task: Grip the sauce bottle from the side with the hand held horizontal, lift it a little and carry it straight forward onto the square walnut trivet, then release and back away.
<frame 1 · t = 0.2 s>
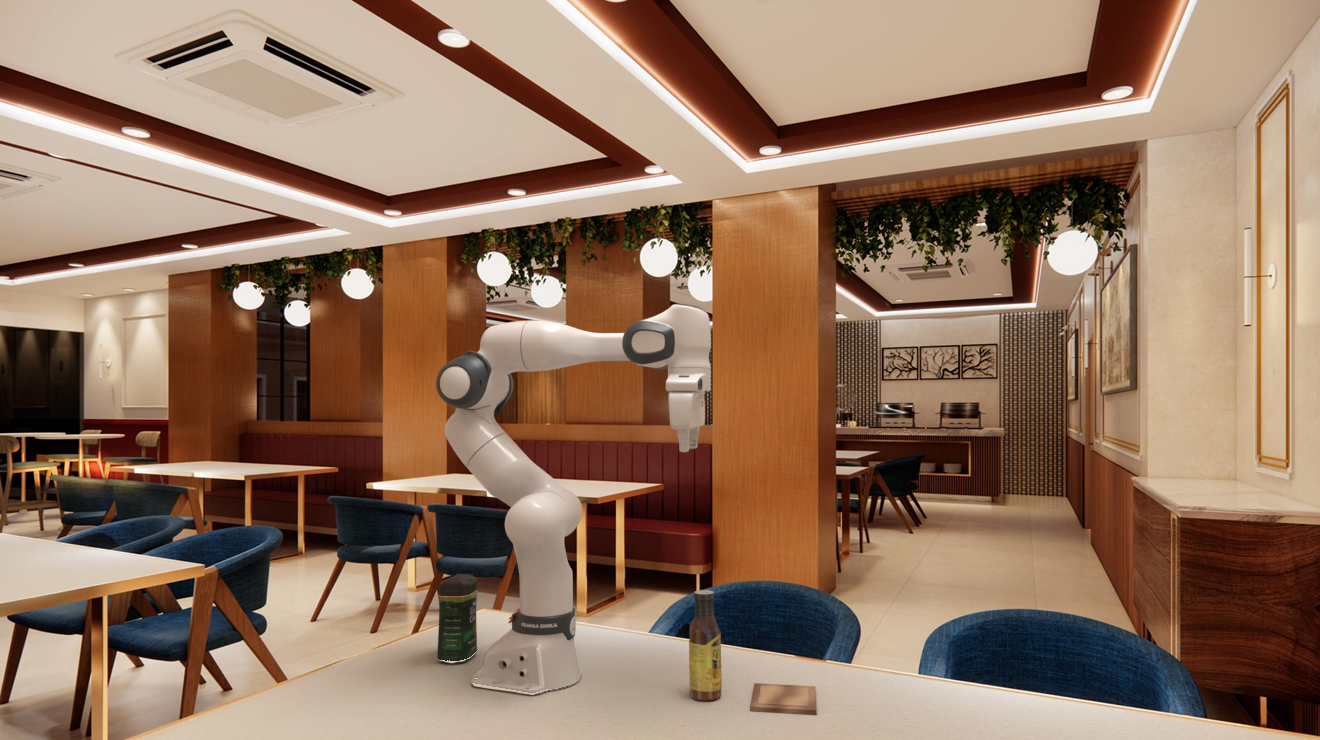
hand: (688, 450, 150), 47 cm above the table, tool pointing down, fingers open, 8 cm apart
coffee jar: (458, 659, 167), on the table
sauce bottle: (705, 697, 142), on the table
trivet: (783, 700, 139), on the table
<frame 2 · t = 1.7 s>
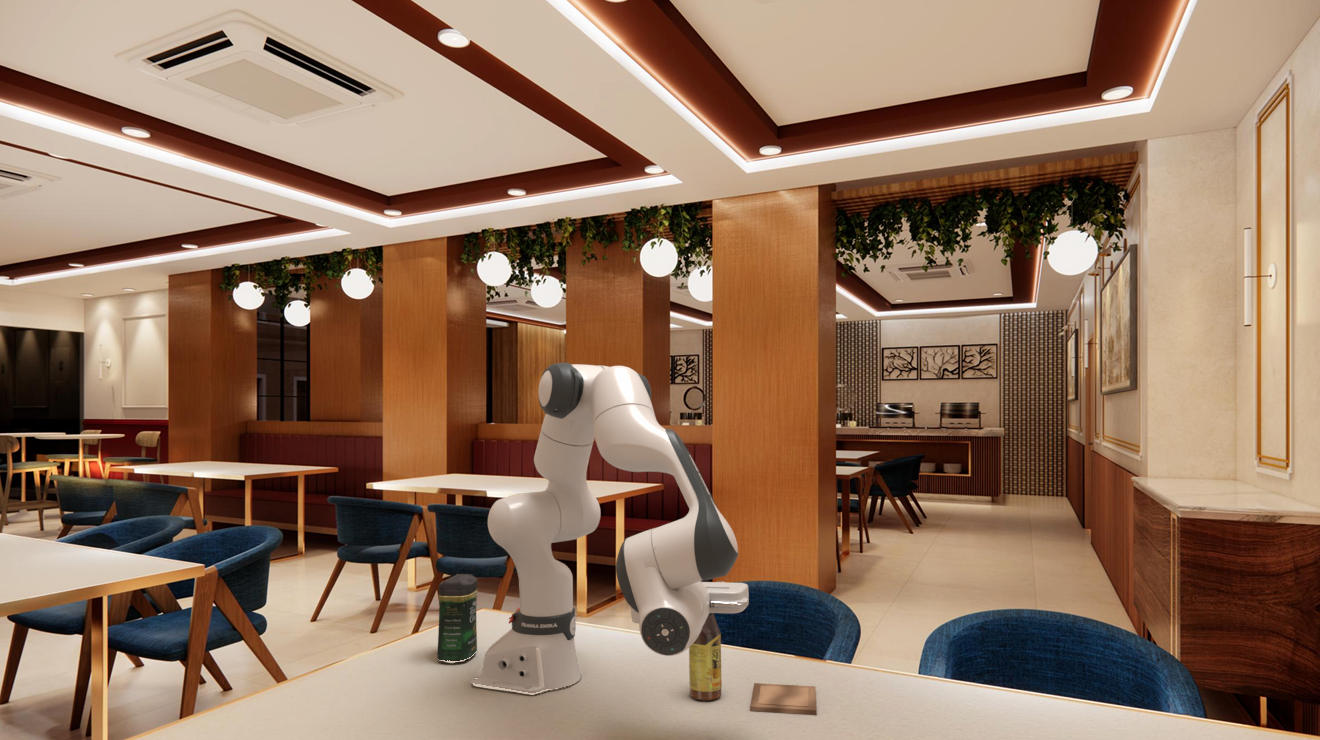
hand: (694, 585, 132), 24 cm above the table, tool horizontal, fingers open, 8 cm apart
nothing on the table moved.
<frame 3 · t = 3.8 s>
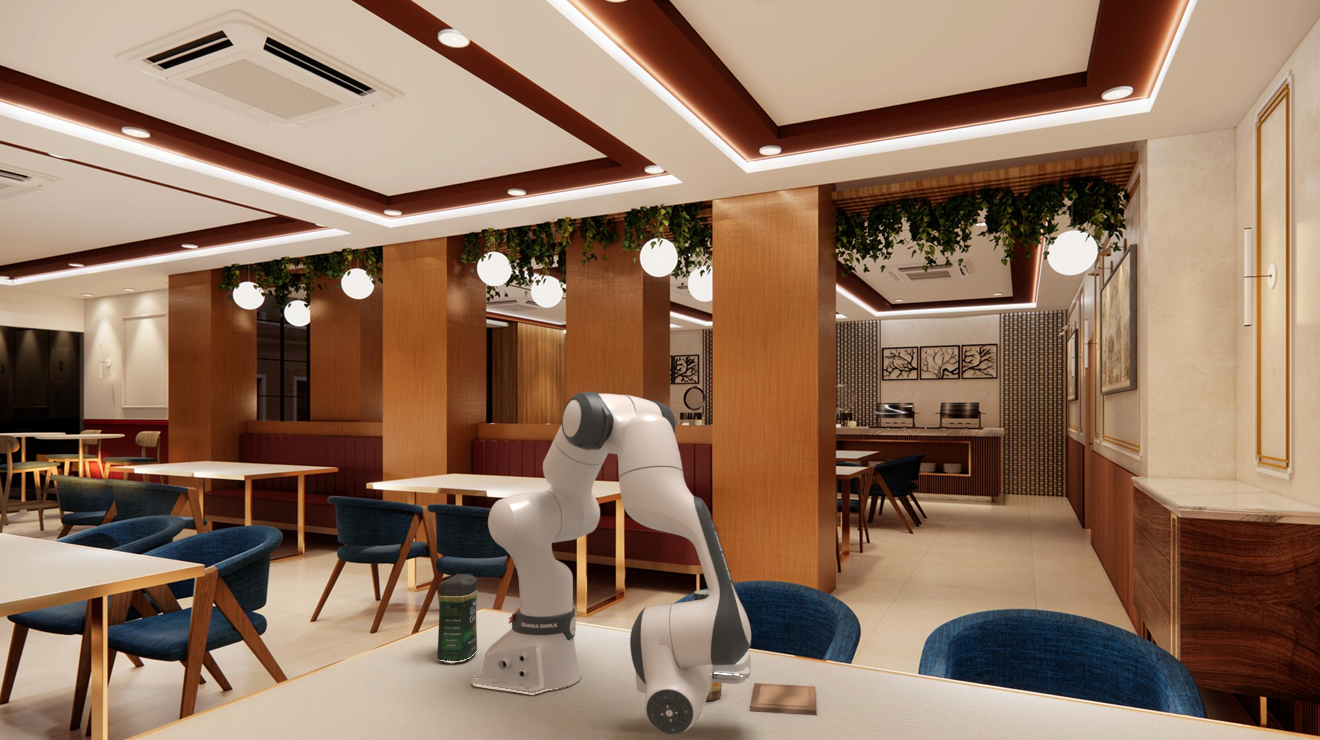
hand: (698, 648, 135), 11 cm above the table, tool horizontal, fingers open, 8 cm apart
nothing on the table moved.
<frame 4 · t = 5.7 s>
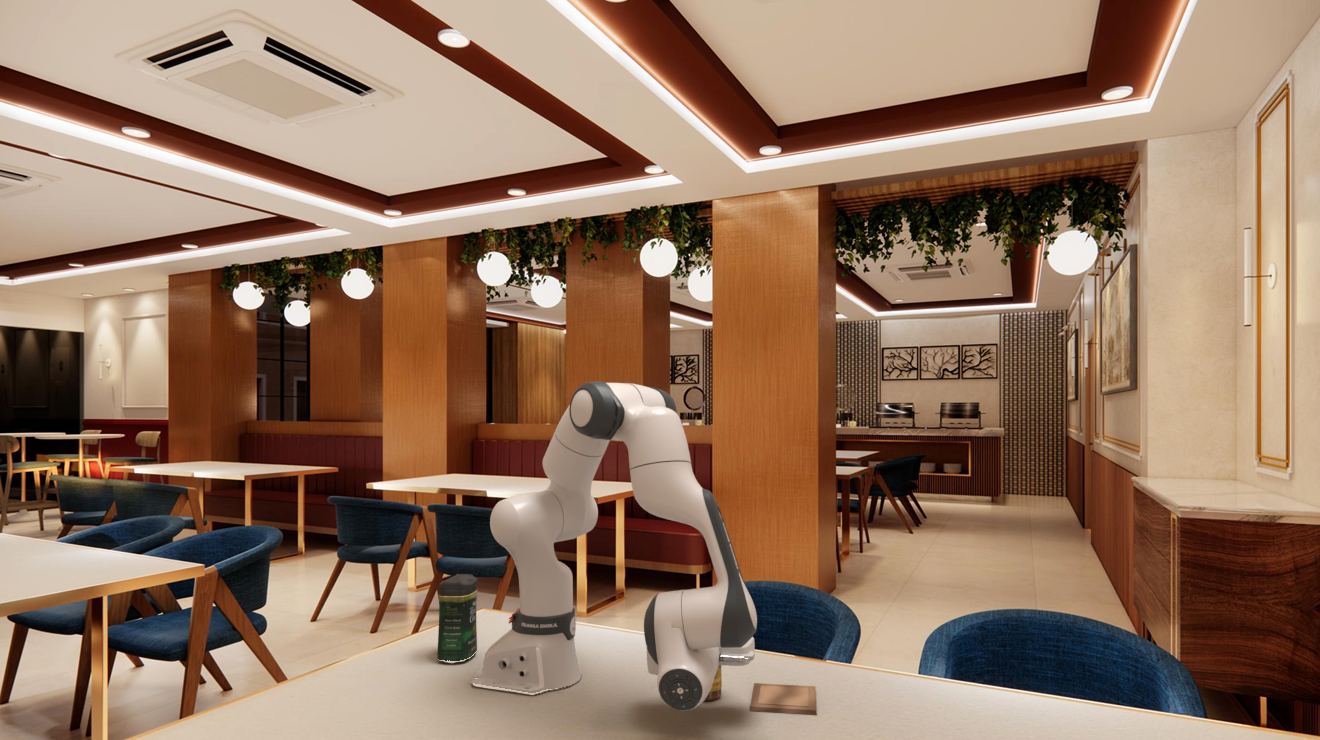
hand: (704, 634, 143), 12 cm above the table, tool horizontal, fingers closed on sauce bottle, 6 cm apart
sauce bottle: (705, 696, 142), on the table, touching gripper
everything else where it was.
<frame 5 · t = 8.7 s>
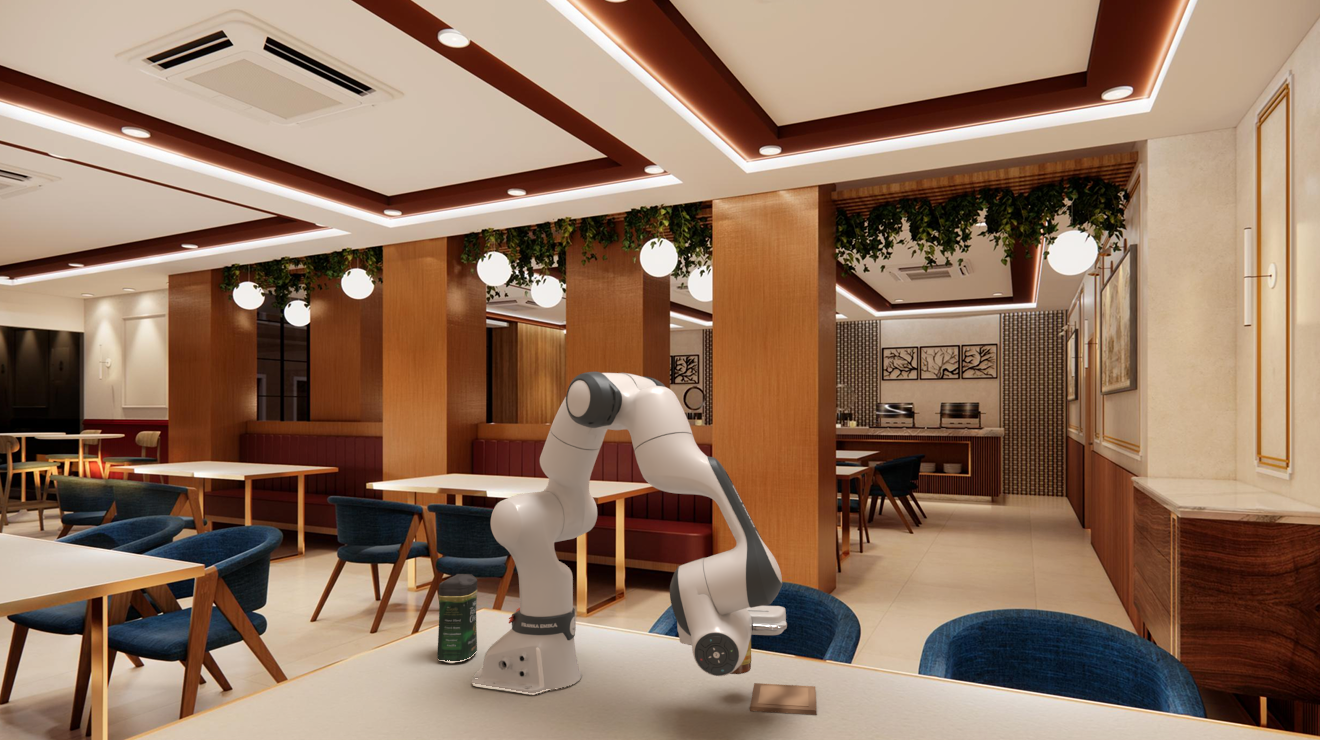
hand: (734, 607, 142), 17 cm above the table, tool horizontal, fingers closed on sauce bottle, 6 cm apart
sauce bottle: (735, 671, 141), point 5 cm above the table, touching gripper
everything else where it was.
when the fingers open (14 cm above the table, at t = 11.7 s): sauce bottle stays where it is, resting on trivet.
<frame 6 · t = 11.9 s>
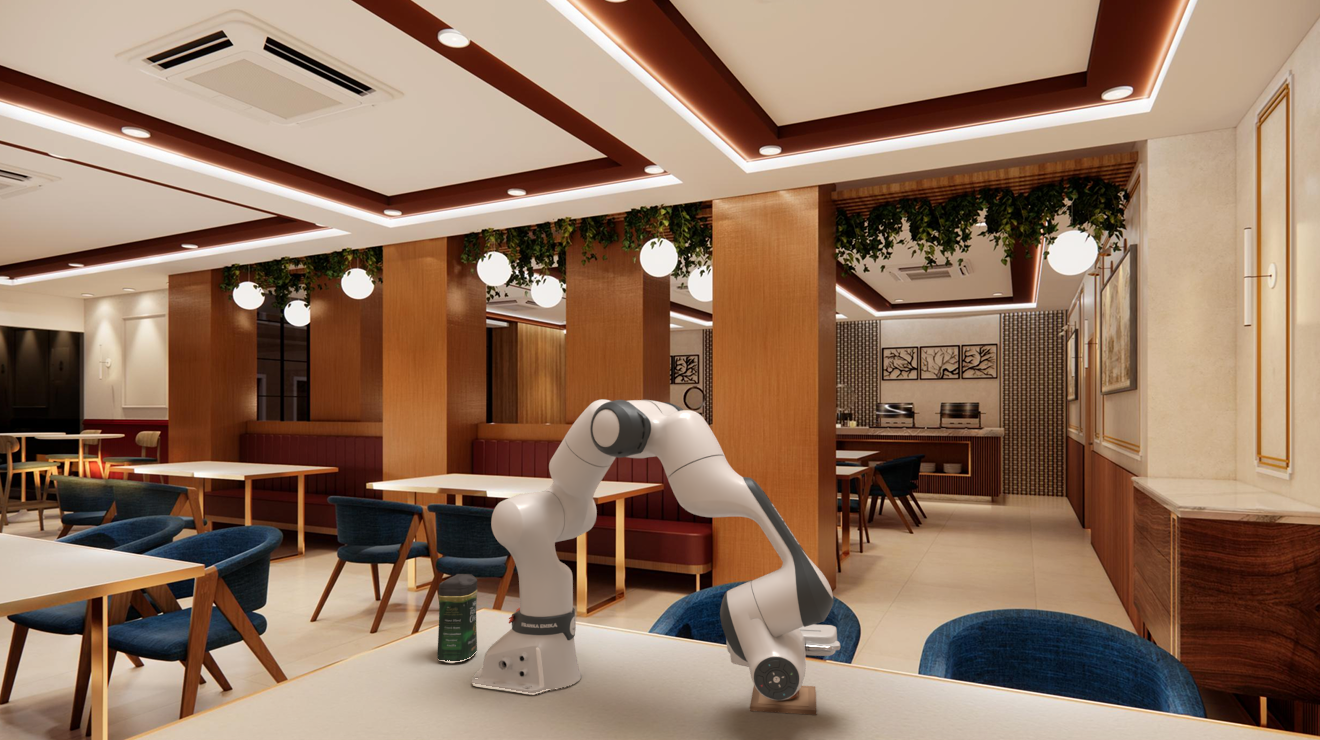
hand: (781, 625, 141), 14 cm above the table, tool horizontal, fingers open, 8 cm apart
sauce bottle: (783, 696, 139), point 1 cm above the table, touching trivet
everything else where it was.
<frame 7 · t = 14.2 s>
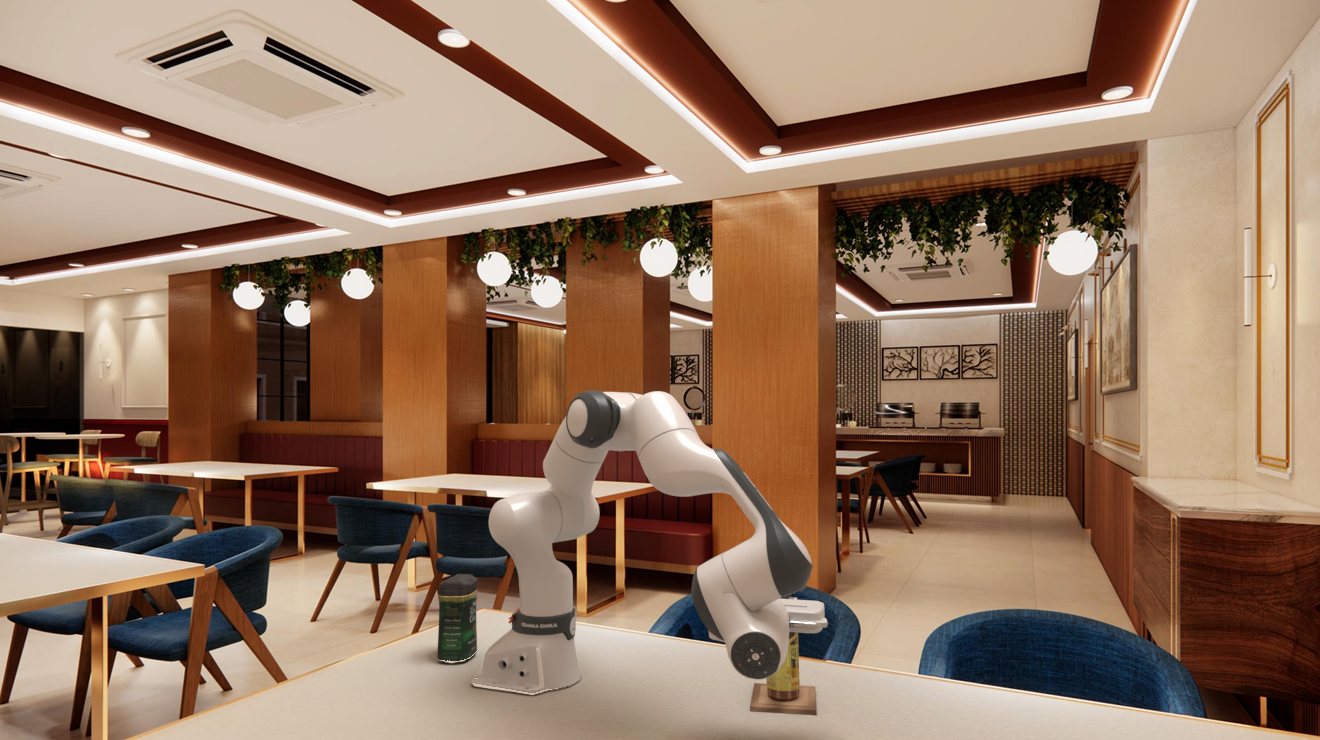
hand: (766, 600, 131), 21 cm above the table, tool horizontal, fingers open, 8 cm apart
nothing on the table moved.
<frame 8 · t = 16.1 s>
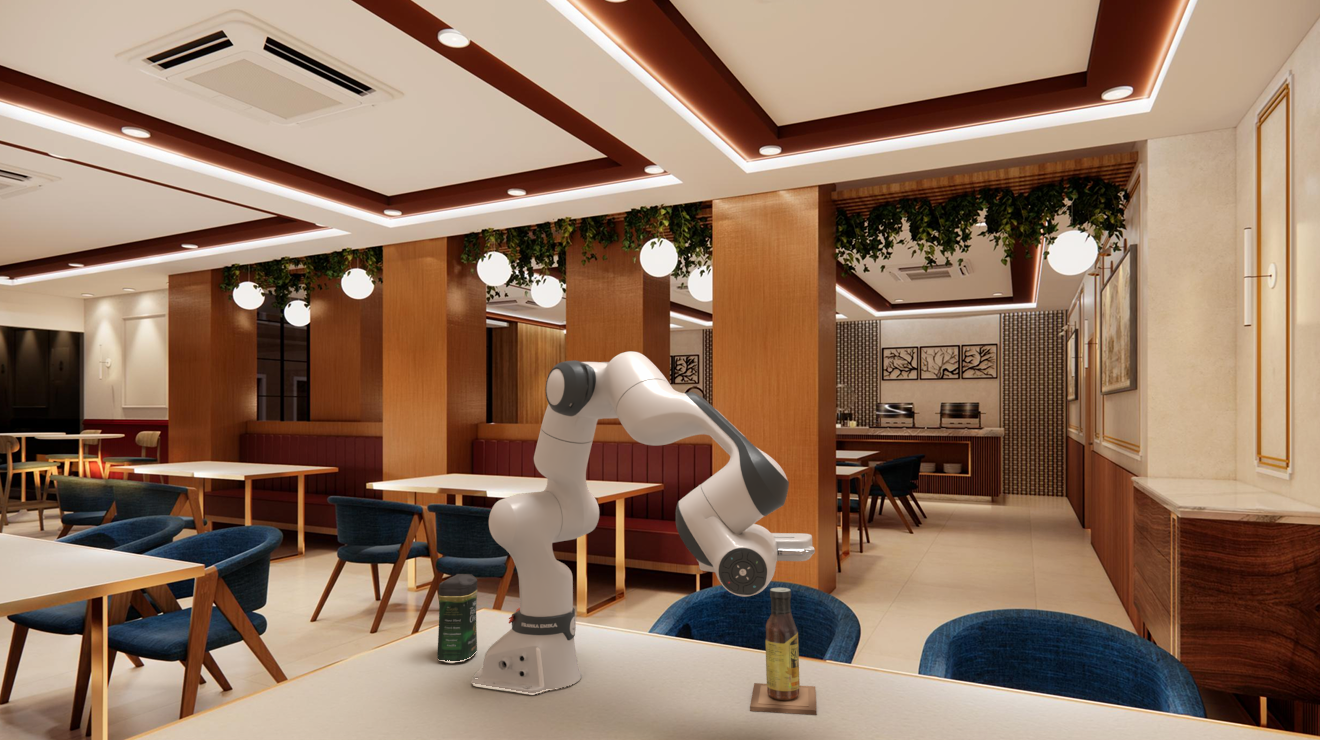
hand: (755, 538, 133), 32 cm above the table, tool horizontal, fingers open, 8 cm apart
nothing on the table moved.
at the end: sauce bottle inside the target area on the trivet (0.1 cm from its centre), point 0.7 cm above the trivet's base; sauce bottle tilted 0°; the gripper is holding nothing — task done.
